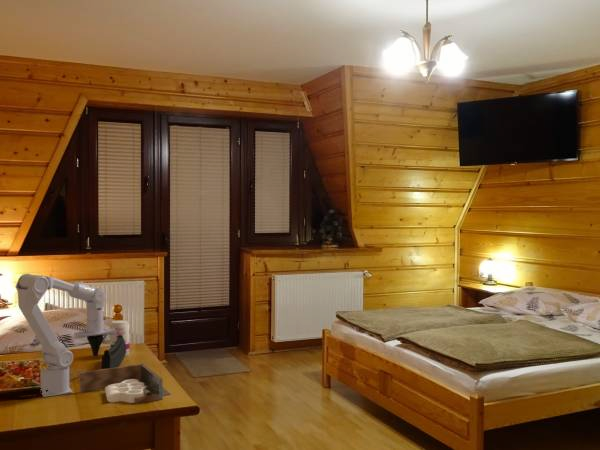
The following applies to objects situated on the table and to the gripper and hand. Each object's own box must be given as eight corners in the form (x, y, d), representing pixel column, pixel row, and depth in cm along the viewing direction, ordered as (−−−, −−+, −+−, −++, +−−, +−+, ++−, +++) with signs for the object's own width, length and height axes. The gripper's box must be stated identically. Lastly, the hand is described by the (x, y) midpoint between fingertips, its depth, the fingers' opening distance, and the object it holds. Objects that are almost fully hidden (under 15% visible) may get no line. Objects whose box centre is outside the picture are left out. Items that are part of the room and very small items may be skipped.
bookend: (159, 399, 200) (159, 379, 200) (140, 382, 220) (139, 364, 219) (173, 397, 203) (173, 377, 203) (153, 380, 222) (153, 362, 222)
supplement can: (124, 352, 266) (124, 319, 265) (132, 355, 260) (132, 321, 259) (107, 355, 260) (106, 321, 260) (115, 358, 254) (115, 324, 254)
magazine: (107, 357, 222) (124, 319, 250) (98, 357, 221) (116, 319, 250) (111, 395, 227) (126, 355, 256) (102, 396, 227) (119, 355, 255)
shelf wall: (93, 411, 189) (93, 389, 189) (79, 391, 208) (79, 372, 208) (162, 399, 201) (162, 378, 200) (143, 382, 220) (143, 363, 220)
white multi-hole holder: (104, 391, 211) (146, 386, 216) (107, 407, 194) (153, 401, 199) (104, 382, 210) (145, 377, 216) (107, 397, 194) (152, 391, 199)
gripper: (76, 323, 213) (77, 360, 213) (117, 319, 220) (117, 355, 221) (73, 320, 219) (73, 356, 219) (112, 316, 226) (112, 351, 227)
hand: (95, 355), depth 220 cm, fingers closed
